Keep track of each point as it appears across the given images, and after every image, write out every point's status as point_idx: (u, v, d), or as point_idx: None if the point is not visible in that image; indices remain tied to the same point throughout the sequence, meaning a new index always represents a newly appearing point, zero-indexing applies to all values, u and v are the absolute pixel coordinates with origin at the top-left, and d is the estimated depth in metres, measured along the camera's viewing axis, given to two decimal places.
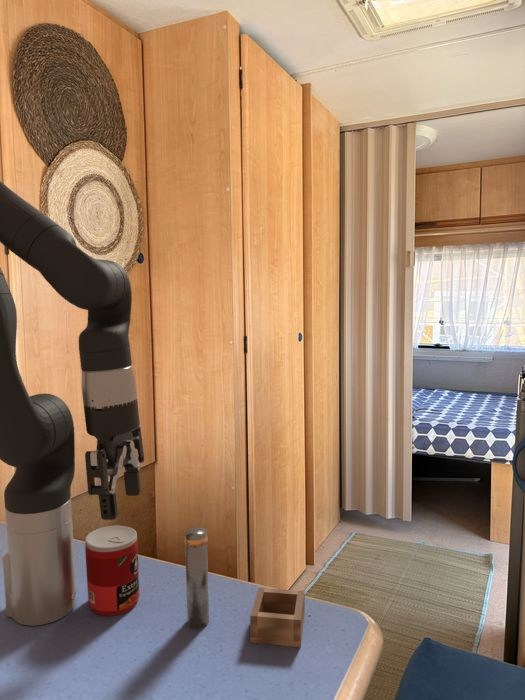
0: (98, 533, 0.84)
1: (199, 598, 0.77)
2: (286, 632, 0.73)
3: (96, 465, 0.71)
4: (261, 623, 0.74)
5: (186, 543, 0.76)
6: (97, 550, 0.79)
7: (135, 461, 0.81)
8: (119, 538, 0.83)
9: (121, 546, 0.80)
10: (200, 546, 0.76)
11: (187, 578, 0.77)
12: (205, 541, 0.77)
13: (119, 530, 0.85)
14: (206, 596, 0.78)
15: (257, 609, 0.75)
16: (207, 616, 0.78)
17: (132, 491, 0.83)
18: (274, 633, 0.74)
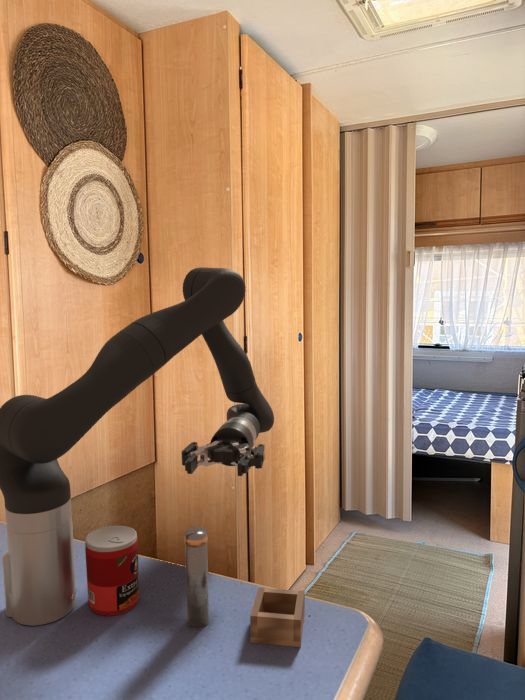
0: (98, 533, 0.84)
1: (199, 598, 0.77)
2: (286, 632, 0.73)
3: (263, 455, 0.95)
4: (261, 623, 0.74)
5: (186, 543, 0.76)
6: (97, 550, 0.79)
7: (206, 465, 0.94)
8: (119, 538, 0.83)
9: (121, 546, 0.80)
10: (200, 546, 0.76)
11: (187, 578, 0.77)
12: (205, 541, 0.77)
13: (119, 530, 0.85)
14: (206, 596, 0.78)
15: (257, 609, 0.75)
16: (207, 616, 0.78)
17: (192, 467, 0.89)
18: (274, 633, 0.74)
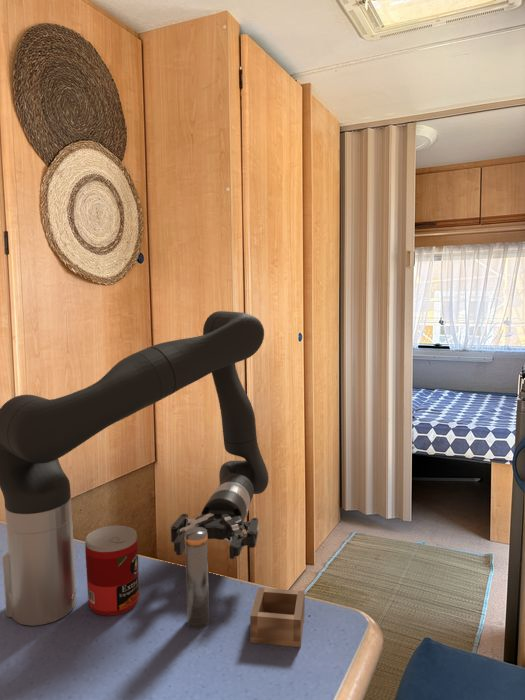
0: (98, 533, 0.84)
1: (199, 598, 0.77)
2: (286, 632, 0.73)
3: (257, 530, 0.90)
4: (261, 623, 0.74)
5: (186, 543, 0.76)
6: (97, 550, 0.79)
7: None
8: (120, 538, 0.83)
9: (121, 546, 0.80)
10: (200, 546, 0.76)
11: (187, 578, 0.77)
12: (205, 541, 0.77)
13: (119, 530, 0.85)
14: (206, 596, 0.78)
15: (257, 609, 0.75)
16: (207, 616, 0.78)
17: (181, 547, 0.84)
18: (274, 633, 0.74)
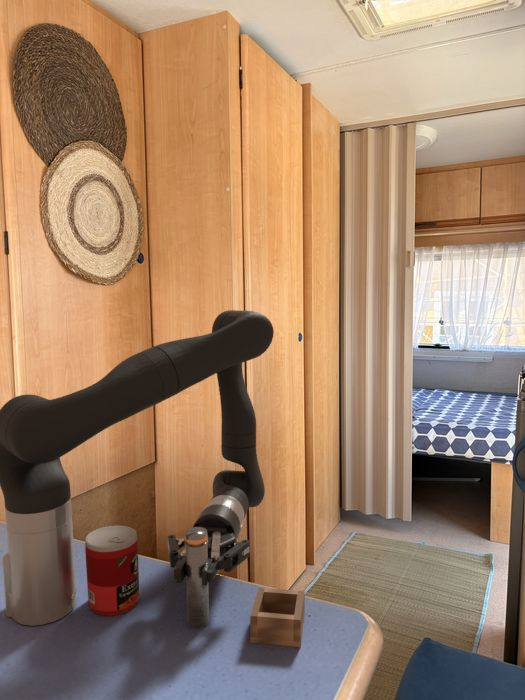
0: (98, 533, 0.84)
1: (200, 598, 0.77)
2: (286, 632, 0.73)
3: (243, 554, 0.82)
4: (261, 623, 0.74)
5: (186, 543, 0.76)
6: (97, 550, 0.79)
7: None
8: (120, 538, 0.83)
9: (121, 546, 0.80)
10: (200, 546, 0.76)
11: (187, 578, 0.77)
12: (205, 541, 0.77)
13: (119, 530, 0.85)
14: (206, 596, 0.78)
15: (257, 609, 0.75)
16: (207, 616, 0.78)
17: (182, 575, 0.76)
18: (274, 633, 0.74)
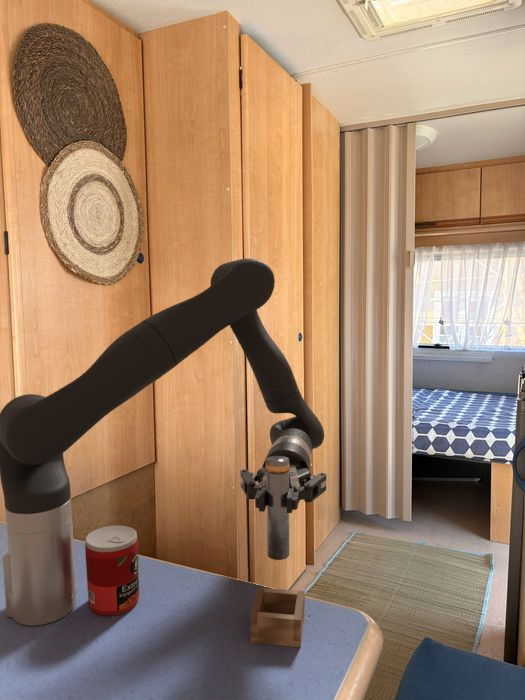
0: (98, 533, 0.84)
1: (282, 528, 0.74)
2: (286, 632, 0.73)
3: (322, 487, 0.79)
4: (261, 623, 0.74)
5: (268, 470, 0.73)
6: (97, 550, 0.79)
7: None
8: (119, 538, 0.83)
9: (121, 546, 0.80)
10: (283, 473, 0.73)
11: (268, 507, 0.74)
12: (287, 469, 0.74)
13: (119, 530, 0.85)
14: (288, 526, 0.75)
15: (257, 609, 0.75)
16: (288, 548, 0.75)
17: (264, 503, 0.73)
18: (274, 633, 0.74)
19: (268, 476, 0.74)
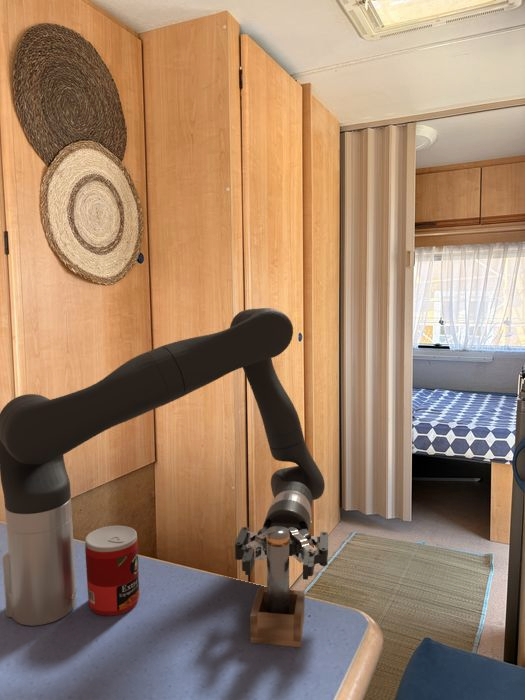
0: (98, 533, 0.84)
1: (282, 599, 0.75)
2: (286, 632, 0.73)
3: None
4: (261, 623, 0.74)
5: (269, 543, 0.75)
6: (97, 550, 0.79)
7: (263, 558, 0.80)
8: (119, 538, 0.83)
9: (121, 546, 0.80)
10: (283, 545, 0.74)
11: (269, 578, 0.75)
12: (287, 541, 0.75)
13: (119, 530, 0.85)
14: (288, 597, 0.76)
15: (257, 609, 0.75)
16: None
17: (250, 566, 0.75)
18: (274, 633, 0.74)
19: (268, 548, 0.75)
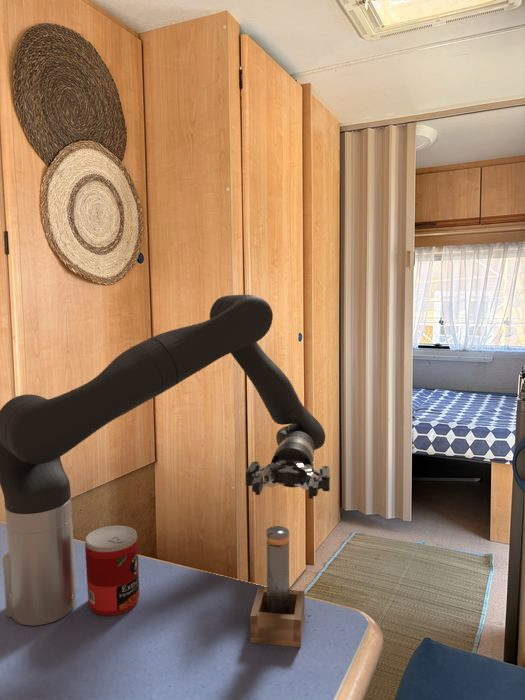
0: (98, 533, 0.84)
1: (282, 599, 0.75)
2: (286, 632, 0.73)
3: None
4: (261, 623, 0.74)
5: (268, 543, 0.75)
6: (97, 550, 0.79)
7: (270, 486, 0.91)
8: (120, 538, 0.83)
9: (121, 546, 0.80)
10: (283, 546, 0.74)
11: (269, 579, 0.75)
12: (287, 541, 0.75)
13: (119, 530, 0.85)
14: (288, 597, 0.76)
15: (257, 609, 0.75)
16: None
17: (260, 488, 0.86)
18: (274, 633, 0.74)
19: (268, 548, 0.75)
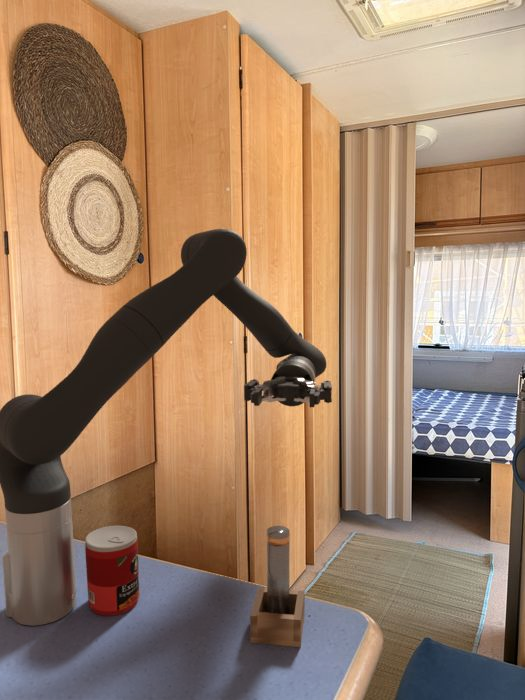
0: (98, 533, 0.84)
1: (282, 598, 0.75)
2: (286, 632, 0.73)
3: None
4: (261, 623, 0.74)
5: (269, 542, 0.75)
6: (97, 550, 0.79)
7: (270, 401, 0.88)
8: (120, 538, 0.83)
9: (121, 546, 0.80)
10: (283, 545, 0.74)
11: (269, 578, 0.75)
12: (288, 541, 0.75)
13: (119, 530, 0.85)
14: (288, 597, 0.76)
15: (257, 609, 0.75)
16: None
17: (259, 398, 0.83)
18: (274, 633, 0.74)
19: (269, 547, 0.75)
